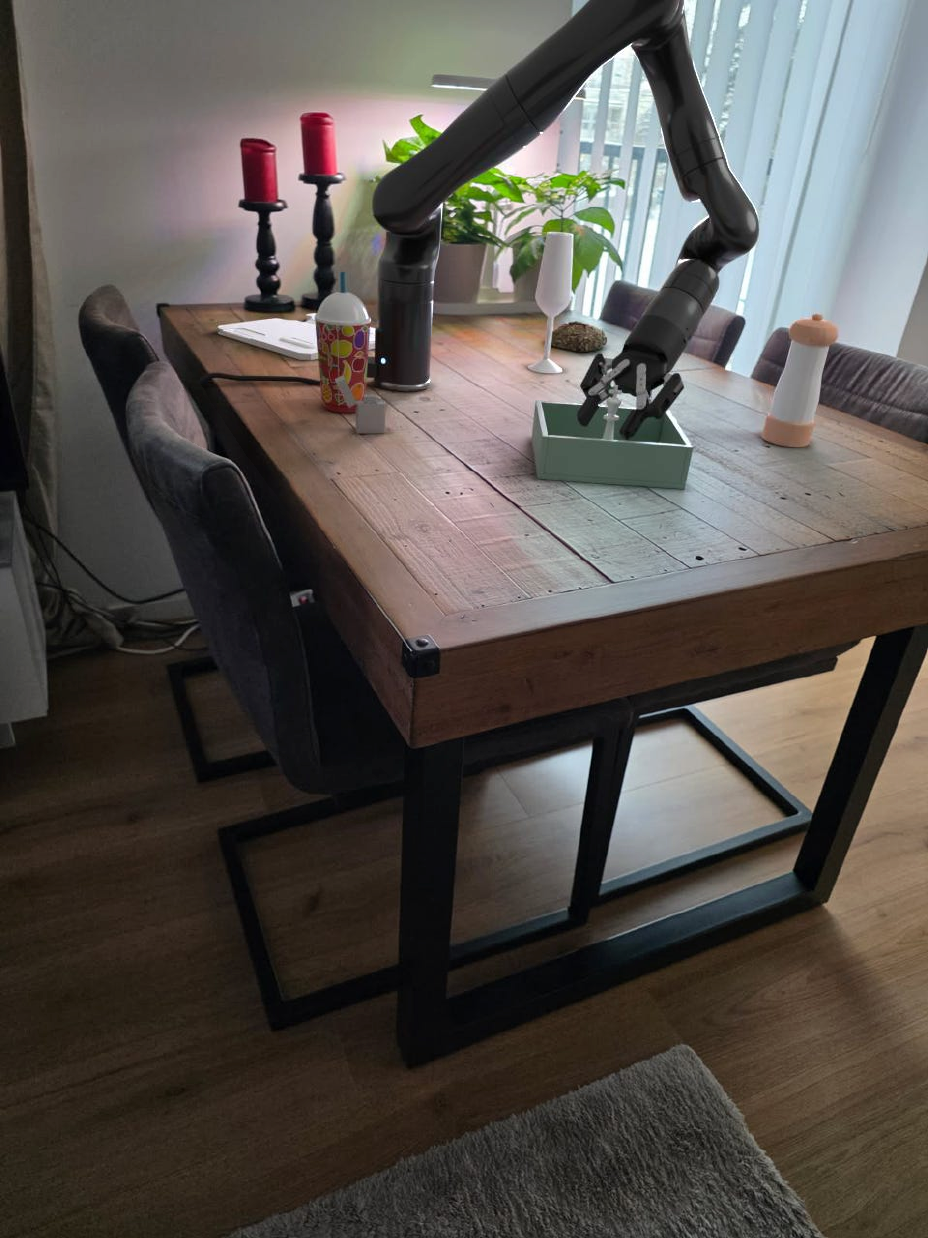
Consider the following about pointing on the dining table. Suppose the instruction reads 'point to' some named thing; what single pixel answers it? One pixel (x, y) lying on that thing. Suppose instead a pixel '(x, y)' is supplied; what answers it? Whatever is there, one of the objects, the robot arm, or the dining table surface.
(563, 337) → the bread roll
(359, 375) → the smoothie
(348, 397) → the lighter
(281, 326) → the tray
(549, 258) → the champagne flute
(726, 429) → the dining table surface
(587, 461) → the open box
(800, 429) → the pepper shaker
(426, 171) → the robot arm
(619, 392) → the chess piece
